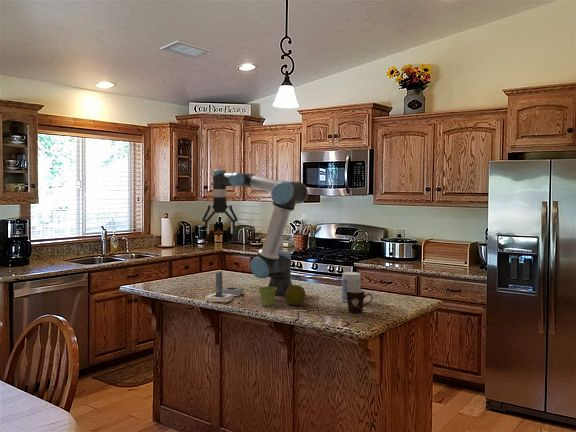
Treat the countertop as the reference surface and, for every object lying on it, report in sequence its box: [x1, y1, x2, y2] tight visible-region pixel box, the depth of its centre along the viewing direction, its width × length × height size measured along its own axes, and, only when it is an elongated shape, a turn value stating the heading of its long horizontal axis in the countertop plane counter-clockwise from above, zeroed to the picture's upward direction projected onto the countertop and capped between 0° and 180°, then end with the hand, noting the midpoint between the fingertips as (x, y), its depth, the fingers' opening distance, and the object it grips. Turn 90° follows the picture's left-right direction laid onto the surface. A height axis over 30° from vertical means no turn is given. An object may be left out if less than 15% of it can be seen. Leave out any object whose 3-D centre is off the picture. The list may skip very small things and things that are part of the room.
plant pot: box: [257, 286, 277, 307], centre depth 261 cm, size 9×9×9 cm
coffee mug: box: [346, 289, 373, 315], centre depth 244 cm, size 12×9×10 cm
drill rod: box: [215, 271, 223, 297], centre depth 272 cm, size 3×3×15 cm
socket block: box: [222, 286, 245, 295], centre depth 287 cm, size 10×10×4 cm
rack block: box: [204, 292, 234, 302], centre depth 272 cm, size 11×11×2 cm
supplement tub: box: [341, 271, 362, 303], centre depth 270 cm, size 10×10×15 cm
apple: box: [284, 284, 306, 306], centre depth 261 cm, size 10×10×11 cm
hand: (220, 233), depth 300 cm, fingers open, 13 cm apart
